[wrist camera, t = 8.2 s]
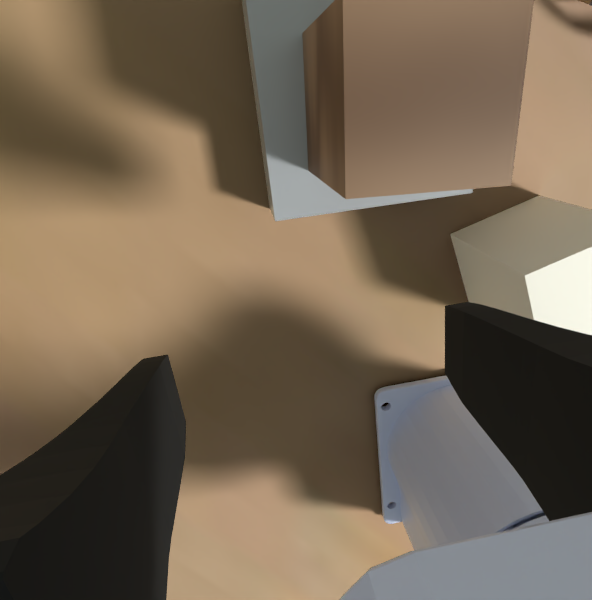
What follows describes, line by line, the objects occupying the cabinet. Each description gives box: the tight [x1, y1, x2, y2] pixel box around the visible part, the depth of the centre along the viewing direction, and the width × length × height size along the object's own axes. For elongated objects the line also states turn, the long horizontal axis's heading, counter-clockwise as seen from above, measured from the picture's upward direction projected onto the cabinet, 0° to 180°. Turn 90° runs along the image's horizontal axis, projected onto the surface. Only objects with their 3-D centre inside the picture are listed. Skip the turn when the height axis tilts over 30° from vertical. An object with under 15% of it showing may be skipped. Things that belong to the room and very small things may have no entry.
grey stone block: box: [242, 0, 473, 221], centre depth 18 cm, size 8×8×3 cm
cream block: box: [450, 195, 592, 335], centre depth 20 cm, size 4×4×6 cm
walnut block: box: [302, 0, 534, 199], centre depth 14 cm, size 4×4×6 cm
